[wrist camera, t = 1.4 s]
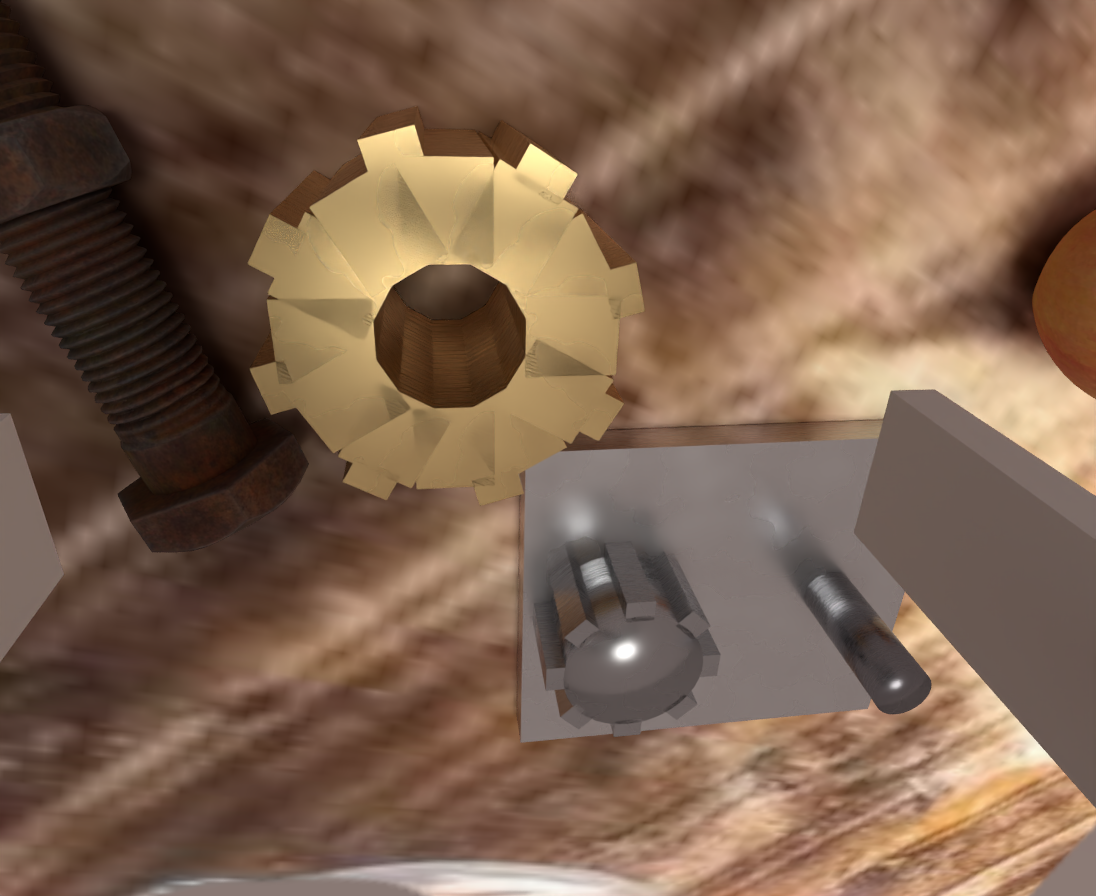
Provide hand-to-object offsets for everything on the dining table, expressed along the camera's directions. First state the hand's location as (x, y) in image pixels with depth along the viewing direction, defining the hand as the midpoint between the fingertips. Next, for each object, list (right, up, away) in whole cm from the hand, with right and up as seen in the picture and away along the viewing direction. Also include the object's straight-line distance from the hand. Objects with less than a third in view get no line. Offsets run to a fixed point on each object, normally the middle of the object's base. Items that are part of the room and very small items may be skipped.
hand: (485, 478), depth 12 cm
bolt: (-12, +6, +11) cm, 17 cm away
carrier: (+8, -5, +19) cm, 21 cm away
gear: (-2, +6, +12) cm, 14 cm away
